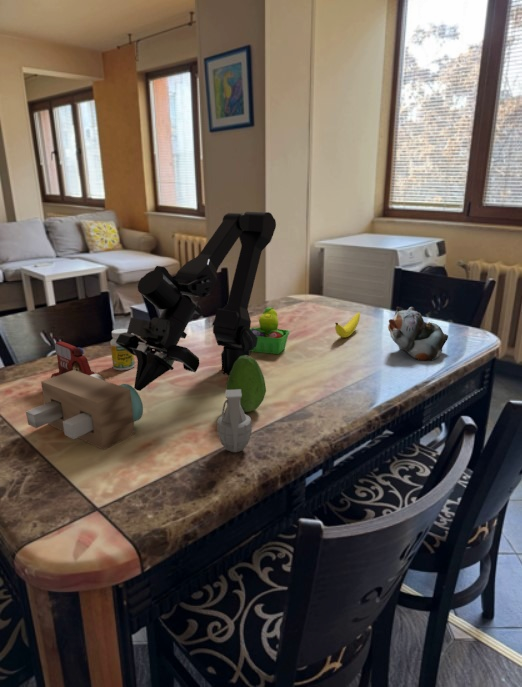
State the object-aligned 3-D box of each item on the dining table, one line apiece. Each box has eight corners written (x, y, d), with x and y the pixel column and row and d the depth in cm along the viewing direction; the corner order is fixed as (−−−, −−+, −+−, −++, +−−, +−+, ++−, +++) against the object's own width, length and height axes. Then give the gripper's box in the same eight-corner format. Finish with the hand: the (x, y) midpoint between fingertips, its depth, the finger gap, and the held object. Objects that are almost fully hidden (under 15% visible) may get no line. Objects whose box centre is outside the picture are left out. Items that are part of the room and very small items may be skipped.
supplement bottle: (130, 361, 129) (127, 326, 126) (138, 368, 124) (134, 331, 121) (110, 366, 126) (106, 330, 123) (117, 372, 122) (112, 335, 119)
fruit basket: (241, 351, 135) (240, 311, 132) (254, 342, 143) (253, 304, 139) (281, 356, 131) (281, 315, 127) (291, 346, 139) (292, 307, 135)
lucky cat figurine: (434, 365, 123) (411, 318, 120) (394, 371, 133) (371, 327, 129) (456, 334, 133) (434, 290, 129) (417, 342, 142) (395, 300, 139)
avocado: (252, 422, 96) (251, 364, 92) (219, 413, 100) (217, 357, 96) (273, 407, 102) (272, 352, 99) (241, 398, 106) (240, 346, 103)
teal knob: (118, 415, 99) (114, 379, 96) (144, 425, 94) (141, 388, 92) (58, 443, 88) (52, 404, 86) (84, 456, 84) (78, 415, 82)
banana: (363, 328, 155) (364, 308, 153) (340, 345, 140) (341, 323, 138) (354, 326, 156) (355, 307, 154) (330, 343, 141) (331, 322, 139)
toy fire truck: (77, 401, 106) (70, 356, 103) (48, 387, 114) (41, 344, 111) (105, 391, 111) (100, 347, 108) (76, 378, 119) (70, 336, 116)
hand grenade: (218, 442, 89) (215, 386, 85) (250, 440, 89) (249, 384, 86) (218, 462, 83) (215, 402, 79) (253, 460, 83) (252, 400, 80)
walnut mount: (90, 406, 104) (84, 365, 101) (145, 427, 94) (141, 384, 92) (22, 434, 92) (14, 390, 90) (78, 463, 83) (71, 414, 80)
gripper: (117, 294, 100) (78, 362, 95) (185, 306, 90) (144, 383, 85) (150, 322, 109) (115, 385, 104) (215, 336, 98) (180, 407, 93)
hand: (136, 389), depth 96 cm, fingers closed
